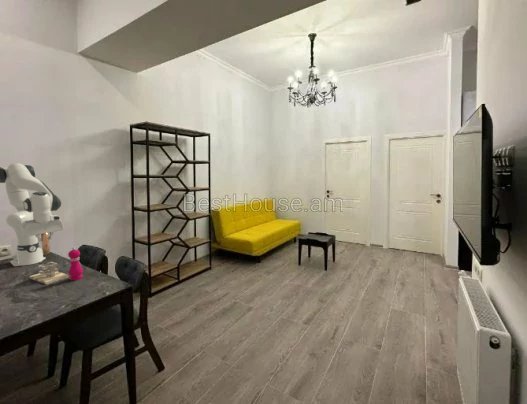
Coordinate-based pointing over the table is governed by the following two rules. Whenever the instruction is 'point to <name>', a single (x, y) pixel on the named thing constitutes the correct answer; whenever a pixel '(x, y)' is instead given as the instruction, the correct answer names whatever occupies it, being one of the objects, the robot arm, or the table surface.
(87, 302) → the table surface
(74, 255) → the pepper mill
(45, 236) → the brown rounded cylinder
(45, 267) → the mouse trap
